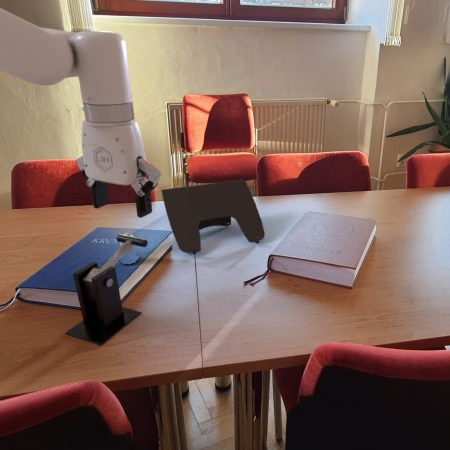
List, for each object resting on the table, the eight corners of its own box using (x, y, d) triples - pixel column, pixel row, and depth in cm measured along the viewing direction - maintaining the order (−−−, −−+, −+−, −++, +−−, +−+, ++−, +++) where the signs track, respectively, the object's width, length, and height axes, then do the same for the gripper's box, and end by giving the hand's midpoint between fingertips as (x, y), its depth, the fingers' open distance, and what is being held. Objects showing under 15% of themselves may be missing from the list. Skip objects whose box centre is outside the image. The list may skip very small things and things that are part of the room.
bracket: (108, 307, 85) (98, 253, 80) (142, 317, 82) (133, 261, 78) (66, 338, 77) (51, 279, 72) (102, 350, 74) (89, 289, 69)
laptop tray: (178, 276, 107) (178, 253, 101) (161, 207, 120) (160, 183, 114) (267, 259, 116) (272, 237, 109) (242, 196, 129) (246, 173, 122)
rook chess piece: (141, 259, 103) (136, 228, 100) (138, 268, 99) (133, 236, 96) (121, 260, 102) (116, 229, 99) (117, 270, 98) (111, 237, 95)
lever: (124, 239, 85) (119, 230, 83) (149, 245, 83) (145, 236, 81) (80, 286, 76) (73, 277, 75) (107, 293, 74) (101, 284, 73)
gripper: (50, 111, 72) (69, 209, 79) (136, 122, 66) (148, 226, 73) (86, 105, 78) (101, 196, 85) (167, 114, 73) (176, 211, 80)
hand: (123, 210), depth 79 cm, fingers open, 9 cm apart
